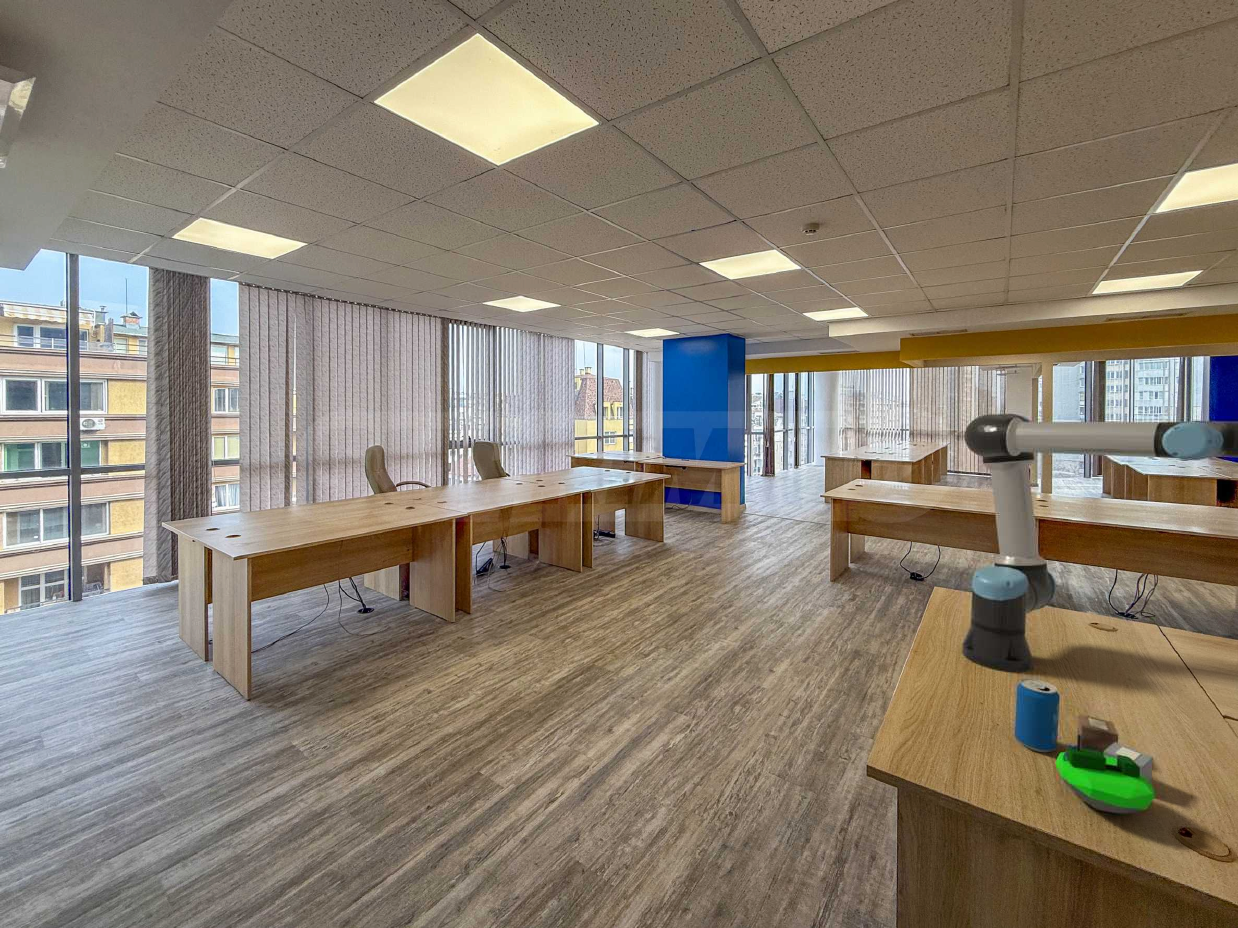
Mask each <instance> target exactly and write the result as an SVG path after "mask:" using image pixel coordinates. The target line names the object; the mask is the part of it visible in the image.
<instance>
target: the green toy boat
mask: <svg viewBox="0 0 1238 928" xmlns="http://www.w3.org/2000/svg"><path fill="white" fill-rule="evenodd" d="M1077 735H1078V734H1077ZM1076 740H1077V741H1076V742H1077V743H1076V745H1073V746H1072V744H1068V745H1067V747H1066V751H1064V752H1060V753H1059V755H1058V756H1057V758H1056V760H1055V765H1056V768H1057V770H1058V772H1059V773H1058V774H1060V777H1061V778H1062V780H1063V782H1064V783H1065V785H1066V786H1067V787H1068V788H1069V789H1070V790H1071V791H1072V793H1073V794H1075V796H1076V797H1077V798H1078V799H1080V800H1081V801H1083V802H1085V803H1086V804H1088V805H1090V807H1092V808H1094V809H1096V810H1098V811H1103V812H1109V813H1113V814H1117V815H1118V814H1123V815H1124V814H1125V815H1129V814H1133V813H1137V812H1142V811H1145V810H1147V809H1148V808H1149V806H1150V805H1151V803H1152V802H1153V800H1154V799H1155V797H1156V796H1155V789H1154V786H1153V785H1152V783H1151V784H1150V783H1149V782H1148V781H1147V780H1146V779H1145V778H1144V777H1143V776H1142V775H1141V774H1140V767H1139V766H1138V765H1137V764H1136V763H1135V762H1134V761H1133V760H1132V759H1131V758H1129V757H1127V756H1122V755H1117V759H1116V758H1111V757H1107V756H1103V754H1102V753H1101V752H1100V751H1095V750H1089V749H1082V748H1080V740H1081V735H1078V739H1077V738H1076Z"/></svg>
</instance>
